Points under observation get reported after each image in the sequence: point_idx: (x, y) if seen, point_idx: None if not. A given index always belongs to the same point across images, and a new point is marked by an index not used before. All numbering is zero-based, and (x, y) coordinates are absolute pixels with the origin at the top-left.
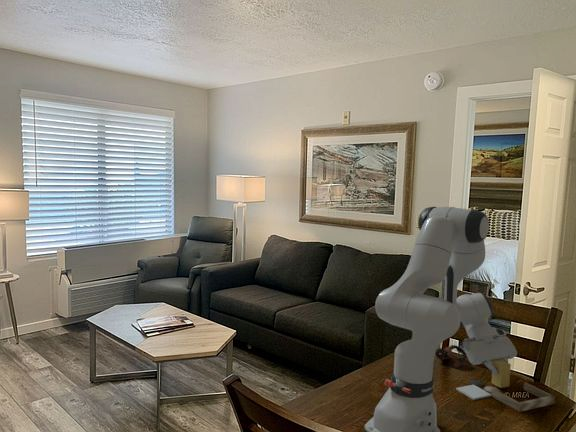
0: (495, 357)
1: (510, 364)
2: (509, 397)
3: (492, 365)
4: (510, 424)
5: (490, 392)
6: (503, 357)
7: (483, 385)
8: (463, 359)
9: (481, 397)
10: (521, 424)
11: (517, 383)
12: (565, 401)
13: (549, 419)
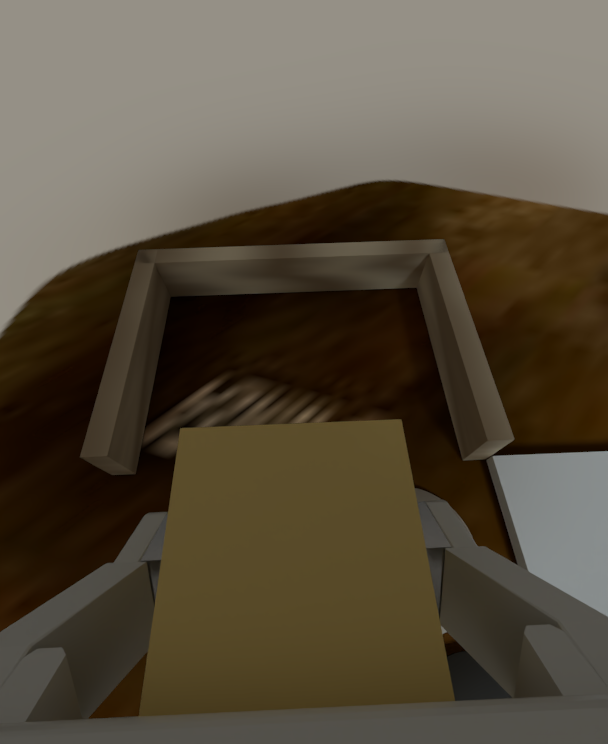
0: (417, 725)
1: (183, 431)
2: (453, 305)
3: (518, 579)
4: (552, 219)
5: (457, 515)
6: (41, 727)
7: (449, 665)
8: None
9: (594, 453)
10: (498, 210)
11: (46, 601)
12: (67, 287)
13: (334, 208)
